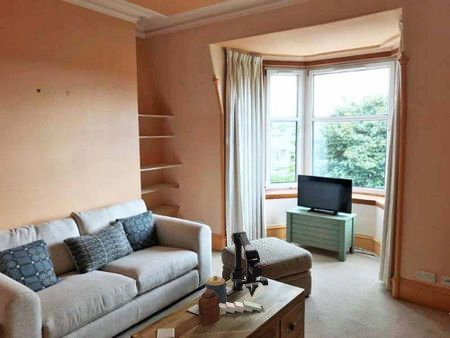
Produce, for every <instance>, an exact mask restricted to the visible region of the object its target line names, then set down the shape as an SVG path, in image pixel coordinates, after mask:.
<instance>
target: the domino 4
mask: <svg viewBox="0 0 450 338" xmlns="http://www.w3.org/2000/svg"><path fill="white" fill-rule="evenodd" d="M242 303H243V306H244V307H245V308H249V309H253V310H257V311H261V307H260V306H261V305H260V304H259V303H255V302H252V301H247V300H243V301H242Z"/></svg>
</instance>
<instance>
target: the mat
mask: <svg viewBox="0 0 450 338" xmlns="http://www.w3.org/2000/svg"><path fill="white" fill-rule="evenodd" d="M260 307H261V311H257V310H253V309H252V312H250V311H246V310H243V313H242V312H238V311H234V313H231V312H227V311H226V314H222V316H228V315H230V316H232V315H240V314H241V315H243V314H254V313H255V314H256V313H265V312H266V311H265V308H264V305H260Z"/></svg>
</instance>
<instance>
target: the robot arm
mask: <svg viewBox="0 0 450 338" xmlns="http://www.w3.org/2000/svg"><path fill="white" fill-rule="evenodd" d="M230 238H231V241H232V243H233V244H234V265H233V267H232V269H231V273H230V274H229V277H230V280H231V282H232V286H231V288H232V290H233V292H235V291H244V289H243V287H244V286H245V289H248V291H249V295H250V297H254V294H255V292H256V290H257V289H258V288H259V284H261V285H262V286H263V287H265V286H269V280H268V278H267V277H266V276H263V277H262V274H263V270H262V268H261V267H260V266H259V264H260V263H261V258H260V254H259V252H258V250H257V249H256V247H255V246H254V245H252V244H251V242H250V240H249V238H248V235H247V232H246V231H244V230H243V231H238V232H237V231H236V232H232V233H231V236H230ZM242 250H243V251H242ZM242 252H243V253H242ZM242 256H243V258H244V261H245V266H246V268H245V269H246V270H244V269H243V267H242V262H243V261H242V259H243V258H242ZM257 278H259V279H257Z"/></svg>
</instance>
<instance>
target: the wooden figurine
mask: <svg viewBox="0 0 450 338" xmlns="http://www.w3.org/2000/svg"><path fill="white" fill-rule="evenodd" d="M205 290H206V289H205ZM205 290H204V291H203V292H202V293H201V296H200V298H198V307H197V310H198V311H197V312H198V314H199V324H200V325H201V326H208V325H211V324H213V323H216V322H219V320H220V319H221V318H220V317H221V315H220V307H219V304H220V299H219V295H217V293H216V292H215V291H214V290H206V291H205Z"/></svg>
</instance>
